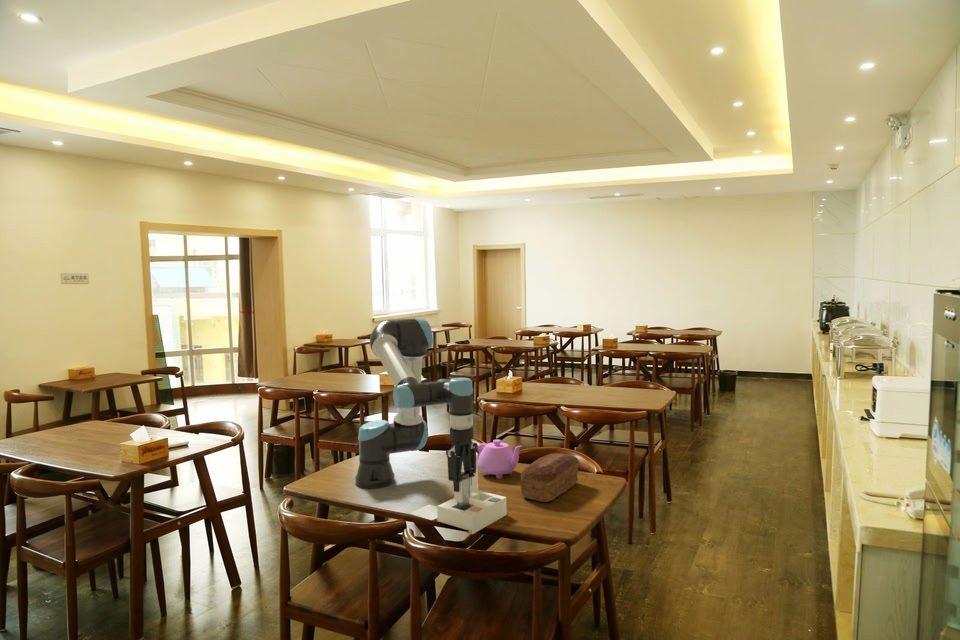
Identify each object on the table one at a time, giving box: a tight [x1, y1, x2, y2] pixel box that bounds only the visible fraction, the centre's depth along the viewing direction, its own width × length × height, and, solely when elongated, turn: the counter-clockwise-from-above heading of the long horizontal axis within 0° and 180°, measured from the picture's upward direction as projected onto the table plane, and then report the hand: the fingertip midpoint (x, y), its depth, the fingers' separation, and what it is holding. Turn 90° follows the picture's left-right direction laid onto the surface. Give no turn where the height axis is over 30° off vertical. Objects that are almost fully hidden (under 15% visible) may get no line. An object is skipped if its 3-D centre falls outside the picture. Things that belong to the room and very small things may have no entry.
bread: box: [520, 452, 580, 503], centre depth 225 cm, size 14×28×12 cm, turn 147°
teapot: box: [477, 439, 523, 480], centre depth 245 cm, size 22×16×14 cm
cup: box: [457, 451, 479, 490], centre depth 220 cm, size 8×8×16 cm
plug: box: [457, 472, 470, 511], centre depth 195 cm, size 4×4×12 cm
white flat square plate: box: [409, 504, 438, 521], centre depth 204 cm, size 10×10×1 cm
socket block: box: [437, 489, 508, 535], centre depth 200 cm, size 14×19×6 cm
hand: (463, 498), depth 195 cm, fingers closed on plug, 4 cm apart
